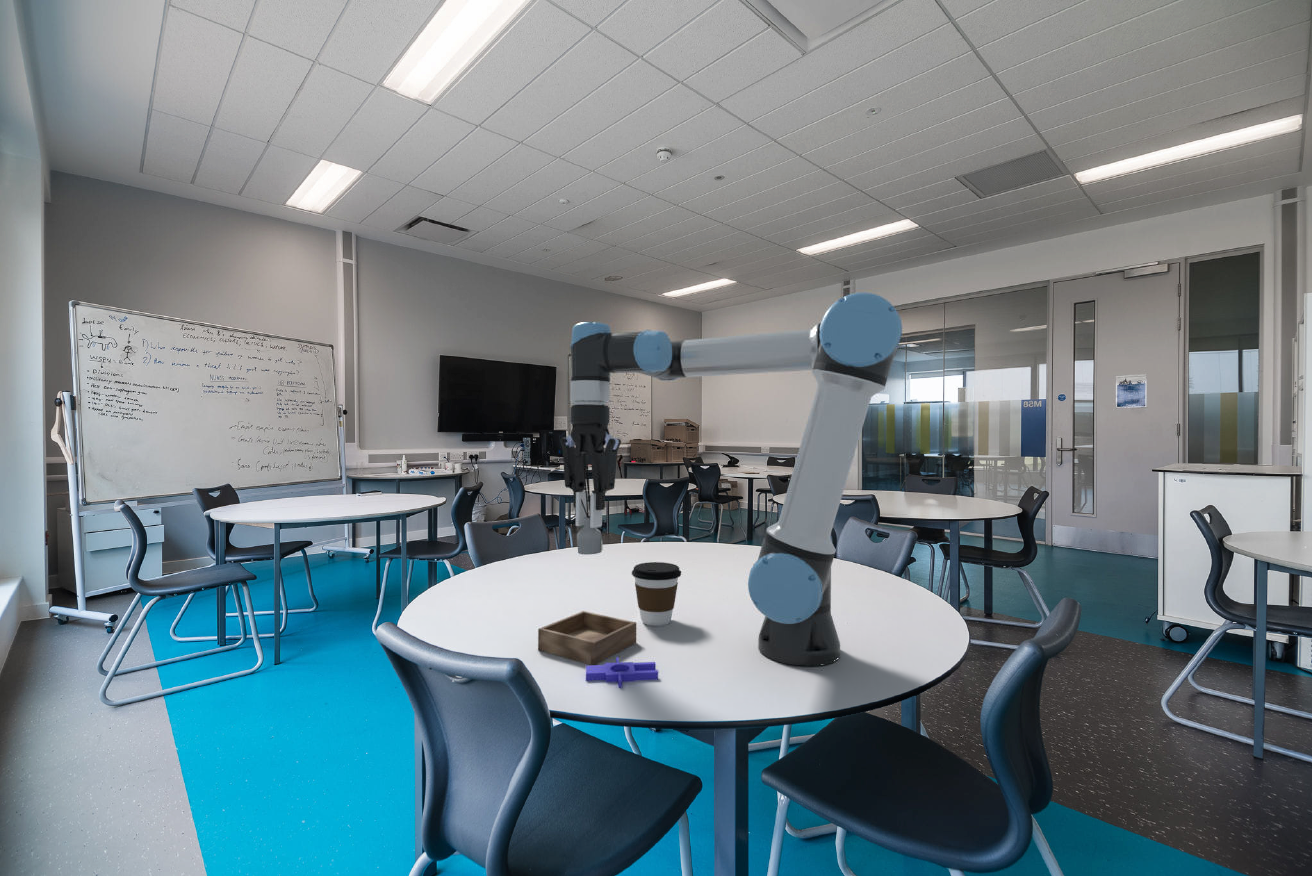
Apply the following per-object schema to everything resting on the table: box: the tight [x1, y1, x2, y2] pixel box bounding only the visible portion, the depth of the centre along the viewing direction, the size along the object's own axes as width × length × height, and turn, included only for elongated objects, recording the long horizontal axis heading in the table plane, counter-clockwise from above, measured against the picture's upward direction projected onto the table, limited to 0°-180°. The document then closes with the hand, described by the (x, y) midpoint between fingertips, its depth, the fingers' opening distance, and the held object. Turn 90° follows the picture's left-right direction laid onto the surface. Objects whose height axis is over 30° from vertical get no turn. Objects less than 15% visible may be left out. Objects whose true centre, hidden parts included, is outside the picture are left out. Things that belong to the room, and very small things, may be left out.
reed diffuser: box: [565, 453, 604, 556], centre depth 111 cm, size 10×7×20 cm
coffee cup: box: [631, 561, 682, 627], centre depth 126 cm, size 11×11×12 cm
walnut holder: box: [537, 610, 637, 665], centre depth 111 cm, size 13×13×4 cm
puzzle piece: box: [585, 656, 659, 689], centre depth 98 cm, size 10×12×2 cm
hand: (588, 525), depth 111 cm, fingers closed on reed diffuser, 3 cm apart
